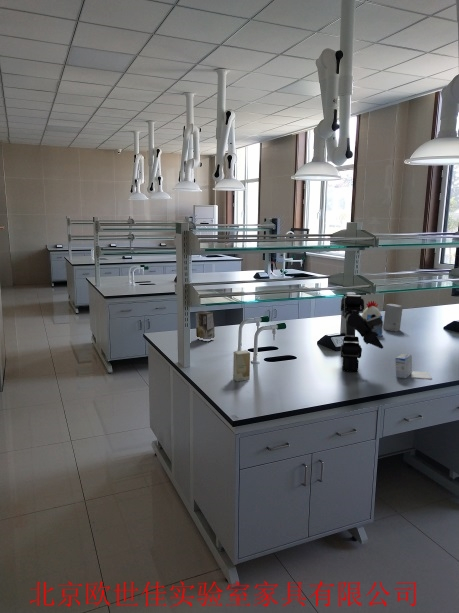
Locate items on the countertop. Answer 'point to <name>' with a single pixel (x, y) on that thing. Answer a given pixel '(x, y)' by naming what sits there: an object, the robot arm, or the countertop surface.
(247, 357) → the skincare box
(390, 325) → the skincare box
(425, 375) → the mat
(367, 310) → the kitchen timer
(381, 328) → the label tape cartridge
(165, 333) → the countertop surface
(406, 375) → the medicine box
